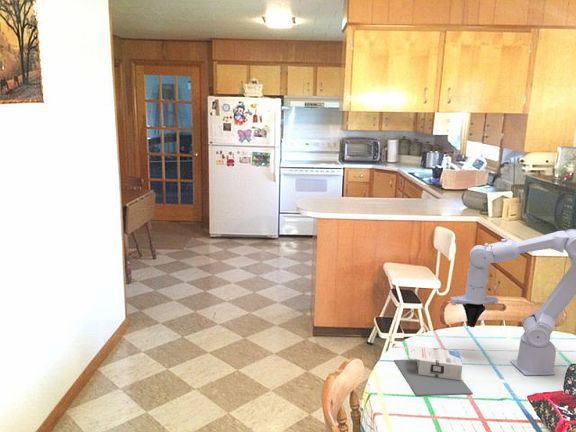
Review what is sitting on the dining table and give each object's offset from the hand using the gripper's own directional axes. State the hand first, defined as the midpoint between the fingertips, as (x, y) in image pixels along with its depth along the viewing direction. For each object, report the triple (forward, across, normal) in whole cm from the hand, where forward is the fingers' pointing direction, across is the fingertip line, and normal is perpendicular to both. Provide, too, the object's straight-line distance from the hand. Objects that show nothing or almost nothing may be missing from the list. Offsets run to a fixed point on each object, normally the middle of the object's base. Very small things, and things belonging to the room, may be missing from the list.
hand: (470, 325), depth 144 cm
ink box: (+8, +8, +10) cm, 15 cm away
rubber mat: (+10, +16, +11) cm, 22 cm away
